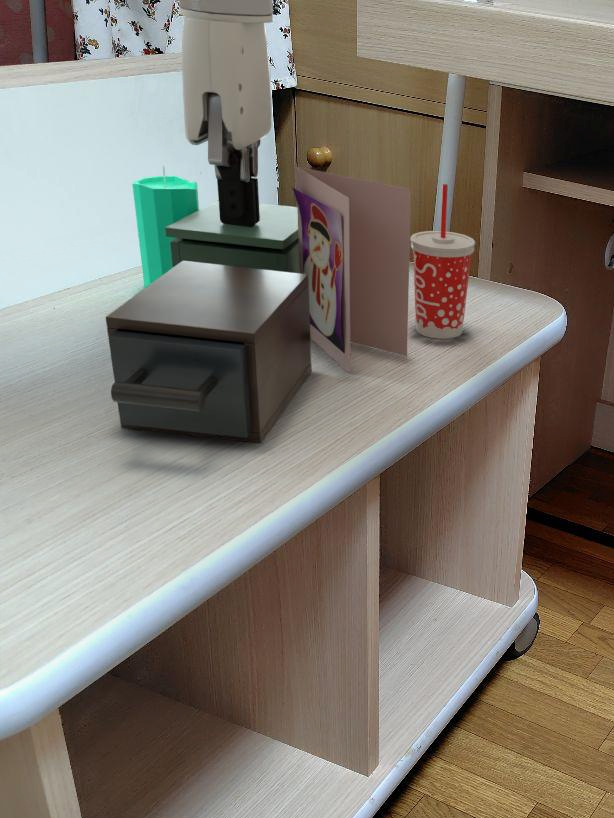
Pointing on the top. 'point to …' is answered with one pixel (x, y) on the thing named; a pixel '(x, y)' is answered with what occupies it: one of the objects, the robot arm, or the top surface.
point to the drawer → (181, 383)
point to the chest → (236, 255)
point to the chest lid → (240, 227)
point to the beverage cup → (441, 278)
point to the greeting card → (354, 261)
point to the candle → (160, 218)
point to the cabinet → (233, 327)
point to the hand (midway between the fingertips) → (240, 222)
